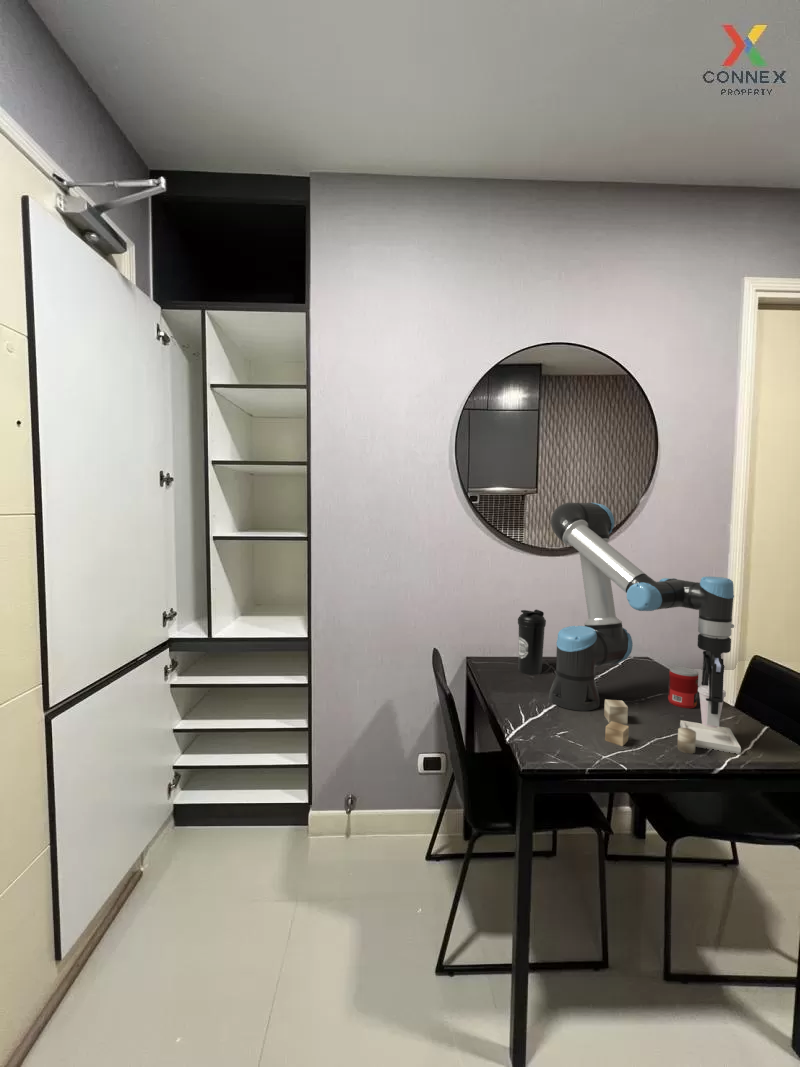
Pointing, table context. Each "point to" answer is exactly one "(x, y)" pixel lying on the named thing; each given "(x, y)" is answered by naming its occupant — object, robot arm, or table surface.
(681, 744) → the birch dowel
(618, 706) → the birch cube
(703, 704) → the smoothie
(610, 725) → the oak block
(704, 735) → the tray
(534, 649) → the water bottle
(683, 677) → the canned food
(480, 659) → the table surface
